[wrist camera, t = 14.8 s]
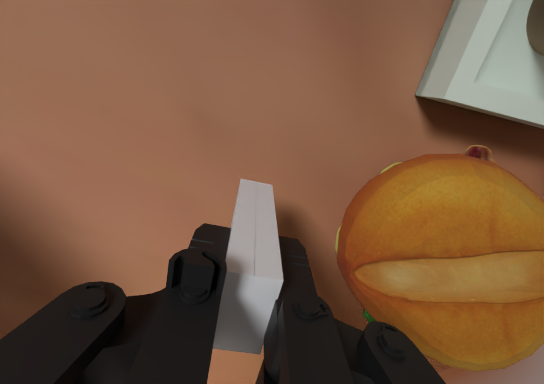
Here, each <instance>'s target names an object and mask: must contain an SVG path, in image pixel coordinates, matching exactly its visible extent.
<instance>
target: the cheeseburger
mask: <svg viewBox="0 0 544 384" xmlns="http://www.w3.org/2000/svg"><path fill="white" fill-rule="evenodd" d="M335 251H336V254H337V261H338V265H339V268H340V270H341V272H342V274H343V276H344V278H345V280H346V282H347V284H348V286H349V288H350V290H351V291H352V292H353V294H354V295H355V296H356V298H357V299H358V300H359V302H360V303H361V305H362V306H363V307H364V311H363V316H364V317H365V318H366V319H367V320H368V321H369V322H370V323H371V322H374V321H378V322H385V323H387V324H390V325H392V326H394V327H396V328H397V329H399V330H400V331H402V332H403V333H404V334H405V335H406V336H407V337H408V338H409V339H410V340H411V341H412V342H413V343H414V344H415V345H416V347H417V348H418V349H419V350H420V352H421V353H422V354H423V355H425V356H427V357H429V358H431V359H433V360H435V361H437V362H440V363H442V364H444V365H447V366H451V367H456V368H461V369H466V370H472V371H485V370H493V369H503V368H506V367H508V366H510V365H512V364H514V363H516V362H518V361H520V360H522V359H524V358H526V357H528V356H530V355H532V354H533V353H534V352H535V351H536V350H537V349H538V348H539V347H541V346H542V345H543V344H544V202H543V201H542V200H541V199H540V198H539V197H538V196H537V195H536V194H535V193H534V192H533V191H532V190H531V189H530V188H529V187H528V186H527V185H525V184H524V183H523V182H522V181H521V180H519V179H518V178H517V177H516V176H515V175H513V174H512V173H511V172H509V171H507V170H505V169H504V168H502V167H500V166H498V164H497V163H496V161H495V160H494V158H493V154H492V151H491V150H490V149H489V148H488V147H486V146H481V145H472V146H469V147H468V148H467V149H466V150H465V152H464V153H463V154H427V155H423V156H420V157H417V158H414V159H411V160H408V161H405V162H397V163H394V164H392V165H390V166H388V167H387V168H385V169H384V170H382V171H381V173H380V174H379V175H378V176H376V177H375V178H373V179H372V180H370V181H369V182H368V183H367V184H366V185H365V186H364V187H363V188H362V189H361V190H360V191H359V192H358V193H357V194H356V195H355V197H354V199H353V200H352V202H351V203H350V205H349V206H348V208H347V210H346V212H345V215H344V218H343V222H342V224H341V225H340V228H339V229H338V231H337V237H336V245H335Z"/></svg>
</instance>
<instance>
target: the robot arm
mask: <svg viewBox="0 0 544 384" xmlns="http://www.w3.org/2000/svg"><path fill="white" fill-rule="evenodd" d="M263 343H264V359H263V362H262V365H261V368H260V371H259V374H258V377H257V380H256V383H255V384H446V383H445V382H444V381H443V379H442V378H441V377H440V376H439V374H438V373H437V372H436V371H435V369H434V368H433V367H432V365H431V364H430V363H429V362H428V360H427V359H426V358H425V357H424V355H423V354H422V353H421V352H420V350H419V349H418V348H417V347H416V345H415V344H414V343H413V342H412V341H411V340H410V339H409V338H408V337H407V336H406V335H405V334H404V333H403V332H402V331H400V330H399V329H397V328H396V327H394V326H392V325H390V324H387V323H385V322H378V321H374V322H371V323H368V325H367V326H366V328H365V329H364V331H362V330H359V329H357V328H354V327H352V326H350V325H347V324H345V323H343V322H341V321H339V320H337V319H335V318H334V317H333V314H332V312H331V310H330V308H329V306H328V304H327V303H326V302H325V301H324V300H323V299H322V298H320V297H318V296H317V293H316V289H315V285H314V281H313V277H312V274H311V270H310V267H309V262H308V259H307V255H306V251H305V248H304V247H303V246H302V244H301V243H300V242H299V241H298V240H297V239H292V238H287V237H282V236H278V230H277V222H276V213H275V205H274V196H273V188H272V185H269V184H265V183H260V182H255V181H250V180H245V179H241V181H240V186H239V190H238V195H237V200H236V205H235V209H234V214H233V219H232V224H231V228H227V227H222V226H216V225H211V224H206V223H204V224H203V225H201V226H200V227H199V228H197V229H196V230H195V233H194V235H193V237H192V240H191V242H190V245H189V248H188V249H184V250H181V251H179V252H177V253H175V254H174V255H173V256H172V257H171V259H170V260H169V265H168V274H167V283H166V288H164V289H162V290H160V291H158V292H155V293H151V294H146V295H138V296H128V297H126V295H125V293H124V292H123V290H122V288H120V287H118V286H117V285H115V284H113V283H108V282H102V281H100V282H88V283H85V284H81V285H78V286H75V287H73V288H71V289H69V290H67V291H66V292H64V293H62V294H61V295H59V296H58V297H57V298H55V299H54V300H53V301H51V302H50V303H49V304H47V305H46V306H45V307H43V308H42V309H41V310H39V311H38V312H37V313H35V314H34V315H33V316H31V317H30V318H29V319H27V320H26V321H25V322H23V323H22V324H21V325H19V326H18V327H17V328H15V329H14V330H13V331H11V332H10V333H9V334H7V335H6V336H5V337H3V338H2V339H1V340H0V384H207V379H208V373H209V367H210V361H211V355H212V349H221V350H229V351H237V352H245V353H253V354H260V352H261V349H262V346H263Z"/></svg>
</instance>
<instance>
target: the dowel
mask: <svg viewBox="0 0 544 384" xmlns="http://www.w3.org/2000/svg"><path fill="white" fill-rule="evenodd" d="M526 31H527V37H528V41H529V43H530V45H531V47H532V48H533V49H534V50H535V51H536V52H537V53H539V54H540V55H543V56H544V0H533V2H532V4H531V6H530V9H529V12H528V17H527V24H526Z"/></svg>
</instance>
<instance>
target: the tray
mask: <svg viewBox="0 0 544 384" xmlns="http://www.w3.org/2000/svg"><path fill="white" fill-rule="evenodd" d="M532 2H533V0H454V1H453V3H452V6H451V8H450V11H449V13H448V16H447V18H446V21H445V23H444V25H443V28H442V30H441V33H440V35H439V38H438V40H437V43H436V45H435V47H434V50H433V52H432V55H431V57H430V60H429V62H428V65H427V67H426V69H425V72H424V74H423V77H422V79H421V82H420V84H419V87H418V89H417V91H416V94H415V95H416V96H420V97H423V98H427V99H431V100H435V101H439V102H442V103H446V104H450V105H454V106H458V107H461V108H465V109H469V110H473V111H477V112H480V113H484V114H488V115H492V116H496V117H500V118H503V119H507V120H511V121H515V122H519V123H522V124H526V125H530V126H534V127H538V128H541V129H544V56H543V55H540V54H539V53H537V52H536V51H535V50H534V49H533V48H532V47H531V45H530V43H529V41H528V37H527V31H526V24H527V17H528V12H529V9H530V6H531V4H532Z"/></svg>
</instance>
